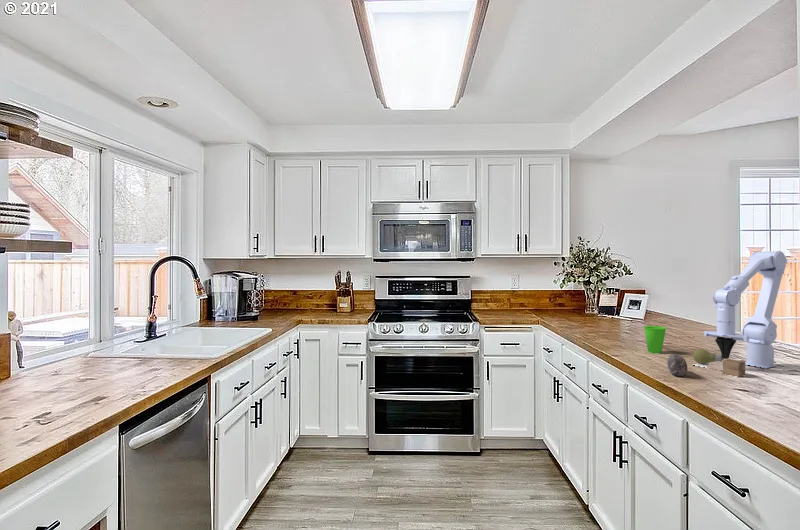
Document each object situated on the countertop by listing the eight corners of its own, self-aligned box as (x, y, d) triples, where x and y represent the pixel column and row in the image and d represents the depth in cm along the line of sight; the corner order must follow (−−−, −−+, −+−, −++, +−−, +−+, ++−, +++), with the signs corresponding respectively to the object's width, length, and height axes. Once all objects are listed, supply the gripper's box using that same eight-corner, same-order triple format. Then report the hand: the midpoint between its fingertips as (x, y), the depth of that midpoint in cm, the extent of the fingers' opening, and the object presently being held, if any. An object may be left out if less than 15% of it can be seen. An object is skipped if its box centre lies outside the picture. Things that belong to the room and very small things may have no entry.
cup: (644, 353, 209) (644, 328, 209) (642, 349, 217) (642, 325, 217) (667, 355, 206) (668, 329, 205) (665, 351, 214) (665, 326, 214)
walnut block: (729, 372, 174) (729, 359, 174) (745, 375, 170) (745, 361, 170) (722, 374, 172) (722, 360, 171) (738, 377, 167) (738, 363, 167)
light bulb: (723, 348, 184) (693, 345, 191) (721, 356, 180) (690, 353, 187) (725, 360, 186) (695, 358, 192) (723, 368, 182) (692, 365, 189)
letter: (704, 362, 191) (704, 361, 191) (744, 369, 179) (744, 368, 179) (691, 365, 186) (691, 364, 186) (731, 372, 174) (731, 372, 174)
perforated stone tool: (664, 368, 181) (664, 350, 181) (680, 369, 179) (680, 351, 179) (671, 377, 167) (671, 357, 167) (688, 379, 165) (688, 358, 165)
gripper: (699, 320, 184) (699, 356, 184) (742, 324, 172) (742, 362, 172) (709, 319, 188) (708, 354, 188) (752, 323, 175) (751, 360, 176)
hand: (725, 358), depth 180 cm, fingers closed
